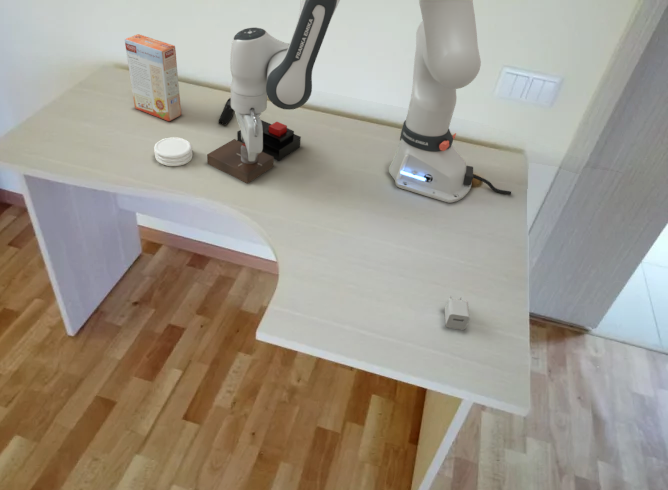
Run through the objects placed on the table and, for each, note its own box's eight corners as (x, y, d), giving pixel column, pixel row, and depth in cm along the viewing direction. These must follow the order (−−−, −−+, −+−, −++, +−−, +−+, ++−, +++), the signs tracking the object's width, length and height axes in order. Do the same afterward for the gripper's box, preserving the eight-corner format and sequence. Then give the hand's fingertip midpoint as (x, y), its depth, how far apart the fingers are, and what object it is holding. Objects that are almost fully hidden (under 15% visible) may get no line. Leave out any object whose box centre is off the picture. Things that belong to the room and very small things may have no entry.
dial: (260, 159, 142) (261, 146, 139) (250, 165, 139) (250, 153, 137) (248, 153, 144) (248, 140, 141) (237, 159, 141) (237, 147, 138)
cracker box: (182, 115, 163) (176, 45, 148) (169, 122, 159) (161, 51, 144) (148, 101, 168) (138, 32, 153) (134, 108, 164) (123, 38, 149)
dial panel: (274, 167, 145) (274, 156, 143) (248, 184, 139) (248, 173, 136) (234, 148, 151) (234, 138, 149) (207, 164, 144) (206, 153, 142)
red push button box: (299, 147, 153) (301, 130, 150) (278, 161, 147) (279, 143, 144) (259, 130, 159) (259, 112, 155) (237, 142, 153) (237, 125, 149)
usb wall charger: (444, 327, 107) (450, 313, 104) (443, 302, 112) (448, 289, 109) (464, 330, 107) (470, 316, 104) (462, 305, 112) (468, 292, 109)
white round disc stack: (199, 153, 148) (199, 142, 145) (179, 171, 141) (178, 159, 138) (169, 144, 150) (167, 132, 148) (147, 160, 144) (146, 149, 141)
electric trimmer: (215, 127, 159) (214, 118, 157) (227, 103, 170) (227, 94, 168) (227, 129, 159) (227, 119, 156) (239, 105, 170) (239, 96, 167)
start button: (286, 132, 149) (287, 125, 148) (278, 137, 147) (279, 130, 145) (276, 128, 150) (276, 121, 149) (268, 132, 148) (268, 125, 147)
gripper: (270, 119, 123) (267, 171, 133) (254, 81, 138) (252, 130, 147) (243, 121, 122) (242, 172, 132) (229, 82, 136) (230, 131, 146)
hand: (248, 150), depth 139 cm, fingers open, 8 cm apart
